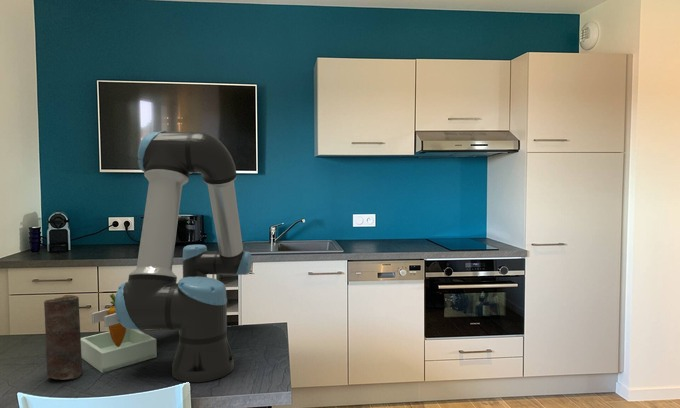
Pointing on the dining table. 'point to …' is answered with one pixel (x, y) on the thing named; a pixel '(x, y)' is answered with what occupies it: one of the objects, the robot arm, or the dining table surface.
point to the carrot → (116, 326)
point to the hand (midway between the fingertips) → (99, 320)
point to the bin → (117, 350)
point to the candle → (63, 337)
